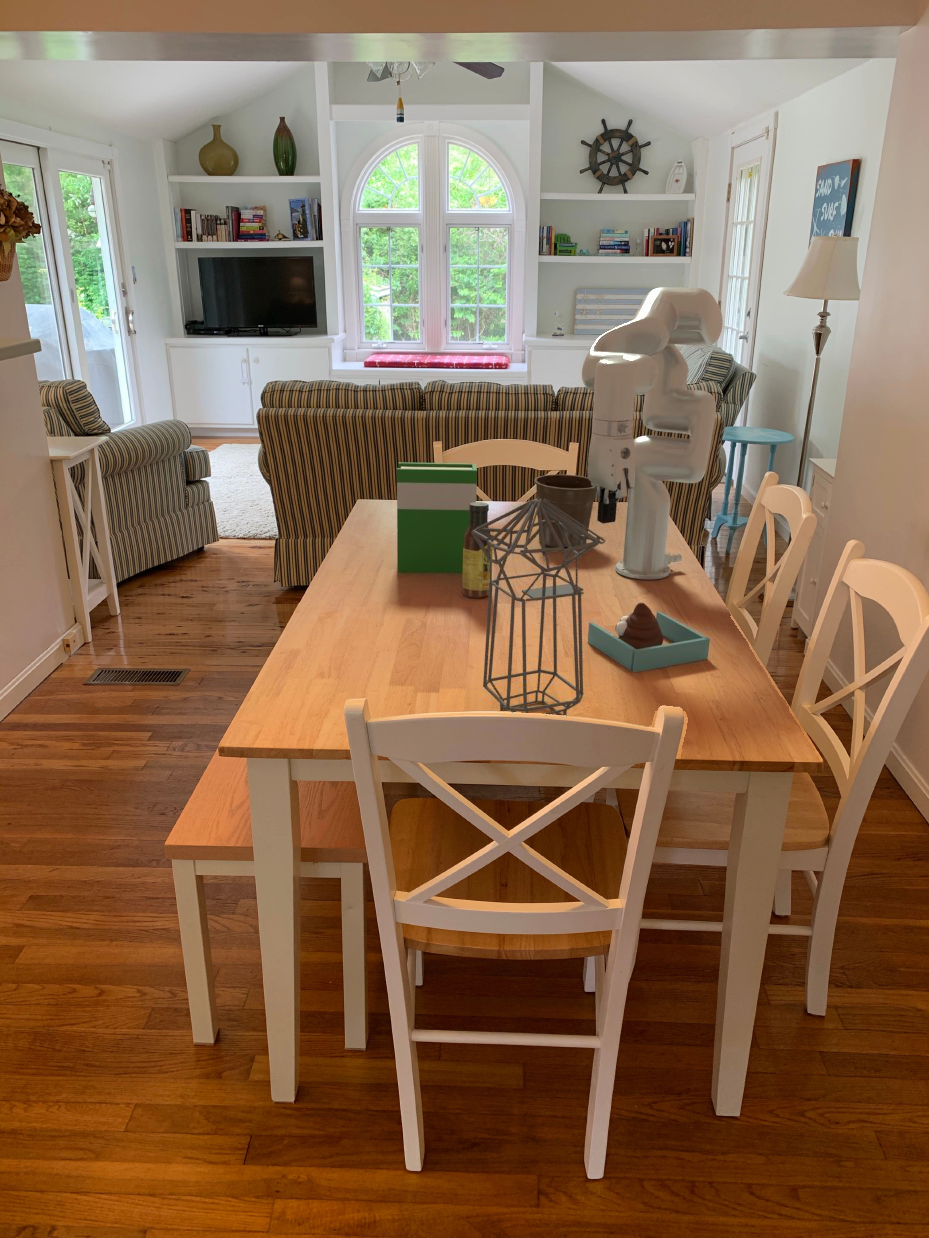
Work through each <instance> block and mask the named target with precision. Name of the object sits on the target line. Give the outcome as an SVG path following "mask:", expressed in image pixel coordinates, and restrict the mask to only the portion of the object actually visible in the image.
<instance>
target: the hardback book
mask: <svg viewBox="0 0 929 1238" xmlns="http://www.w3.org/2000/svg"><path fill="white" fill-rule="evenodd" d="M397 466H398V467H396V508H397V509H396V518H397V519H396V521H397V522H396V529H397V531H396V535H397V539H396V540H397V541H396V542H397V544H396V545H397V547H396V549H397V550H396V552H397V554H396V555H397V556H396V557H397V559H396V561H397V564H396V567H397V568H396V569H397V573H399V574H456V575H457V574H458V575H459V574H461V575H463V546H464V534H465V532H466V530H467V529H468V527H469V526H470V522H469V521H470V509H469V505H470V503H473V502H477V487H478V486H477V482H478V480H477V478H478V469H477V463H462V462H461V463H459V462H447V463H446V462H405V461H404V462H403V461H401V462H399V461H398V465H397Z"/></svg>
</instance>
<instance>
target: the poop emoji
mask: <svg viewBox="0 0 929 1238" xmlns="http://www.w3.org/2000/svg"><path fill="white" fill-rule="evenodd" d="M615 632H616V633H617V634H618V638H619V639H621V640H622V641H624V642H625V643H627V644H629V645H630V646H632V647H633V648H635V649H642V648H648V647H653V646H659V645H664V644H663V643H664V636H662V632H661V629H660V627H659V623H658V621H657V619H656V615H654V613H653V611H652V610H651V608H650V607H649V606H648V605H647V604H646V603H644V602H639V603H637V604H636V605H635V607H634V609H633V611H632V612H631V613H630V614H629V615H624V616H622V617H621V618H620V619H619V622H617V624H616V625H615Z"/></svg>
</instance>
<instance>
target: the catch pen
mask: <svg viewBox="0 0 929 1238" xmlns="http://www.w3.org/2000/svg"><path fill="white" fill-rule="evenodd" d="M655 618H656V619H657V621H658V623H659V627H660V629H661V632H662V636H663V638H666V639H667V640H669V641H671V642H672V643H666V644H662V645H659V646H653V647H648V648H642V649H635V648H633V647H632V646H630V645H629V644H627V643H625V642H624V641H622V640H621V639H619V636H618V637H617V636H615V635H614V634H613V633H611V632H610V631H608V630H606V629H605V628H604V627H602V626H600V625H598V623H596V622H594V621H590V622H589V623H588V633H587V643H588V644H590V645H591V646H593V647H594V648H596V649H597V650H599V651H600V652H602V653H603V654H605V655H606V656H607V657H609V658H611V659H612V660H613V661H615V662H617V663H618V664H620V665H621V666H623V667H624V668H625V669H627V670H629V671H630V672H632V673H639V672H645V671H649V670H651V671H652V670H655V669H660V668H666V667H671V666H677V665H682V664H688V663H692V662H693V663H694V662H699V661H704V660H708V659H709V658H708V657H709V648H710V640H711V639H710V637H708V636H706V635H704V634H703V633H701V632H699V631H697V630H696V629H693V628H691V627H689V626H688V625H686V624H684V623H682V622H680V621H678V620H677V619H675V618H673V617H671V616H669V615H667V614H665V613H664V612H662V611H657V612H656V615H655Z"/></svg>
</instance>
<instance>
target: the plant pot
mask: <svg viewBox="0 0 929 1238" xmlns="http://www.w3.org/2000/svg"><path fill="white" fill-rule="evenodd" d="M534 483H535V484H536V485H535V488H536V497H537V499H538V500H539V499H541V500H542V501H543V500H544V499H545V500H547V501H548V502H549V503H551V504H552V505H554V506H555V507H557V508H558V509H560V510H561V511H563V512H564V513H566V514H567V515H569V516H570V517H572V518H573V519H575V520H576V521H578V522H579V523H581V524H582V525H584V526H585V527H587V528H588V529H590V524H591V523H590V522H591V517H592V511H593V506H594V501H595V500H596V498H597V491H596V489H595V488H594V487H593V486H592V485H591V481H590V480H589V479H588V476H587V477H586V476H582V475H574V474H546V475H542V476H541V475H540V476H537V477H536V478H534ZM557 511H558V510H557ZM545 513H546V512H545ZM560 513H561V512H560ZM546 514H547V513H546ZM563 515H564V514H563ZM547 516H548V518H549V520H550V521H554V520H553V519H552V518H551V517H550V516H549V515H548V514H547ZM564 516H565V515H564ZM566 517H567V516H566ZM567 518H568V517H567ZM541 519H542V520H545V519H544V517H543V515H542V513H541ZM569 519H570V518H569ZM570 520H571V519H570ZM571 521H573V520H571ZM573 522H574V521H573ZM574 523H576V522H574ZM551 524H552V526H553V528H554V530H555V532H556V534H557V536H558V538H559V540H560V541H561V543H562V545H563V547H564V548H568V546H567V544H566V542H565V540H564V537H563V535H562V533H561V531H560V529H559V527H558V524H557V523H553V522H551ZM576 524H577V523H576ZM577 525H578V526H580V525H579V524H577ZM580 527H581V528H583V527H582V526H580ZM583 529H584V530H585V531H587V530H586V529H585V528H583ZM564 531H565V534H566V536H567V538H568V540H569V542H570V544H571V547H574V545H575V540H576V538H575V537H573V535H572V534H570V533H569V532H568V531H566V530H565V529H564ZM576 531H577V530H576ZM577 532H578V531H577ZM587 532H588V533H589V531H587ZM543 533H544V541H545V547H548V548H559V546H558V544H557V542H556V540H555V538H554V536H553V534H552V532H551V530H550V528H549V526H548V525H546V526H545V527H544V528H543ZM578 533H579V534H580V535H582V534H581V533H580V532H578ZM538 541H539V543H540V544H541V539H540V532H539V534H538ZM583 544H584V541H582V540H579V539H578V542H577V546H579V545H583Z"/></svg>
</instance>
